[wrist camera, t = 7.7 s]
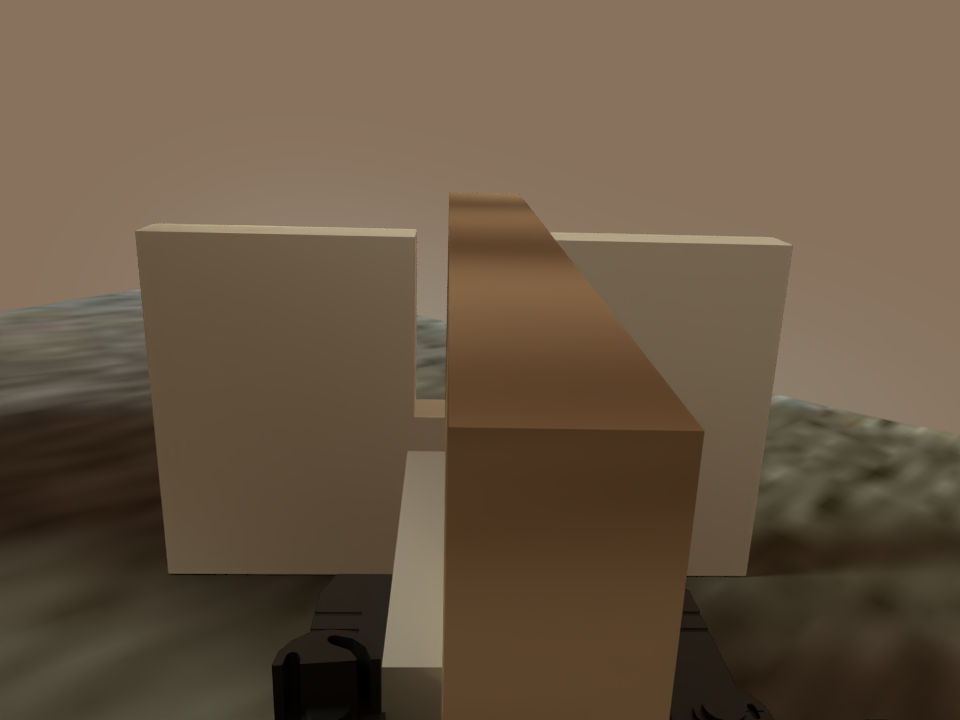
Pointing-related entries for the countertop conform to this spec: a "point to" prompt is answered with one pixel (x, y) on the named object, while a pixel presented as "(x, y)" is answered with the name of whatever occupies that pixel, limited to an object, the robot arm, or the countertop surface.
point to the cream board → (407, 383)
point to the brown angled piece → (555, 487)
